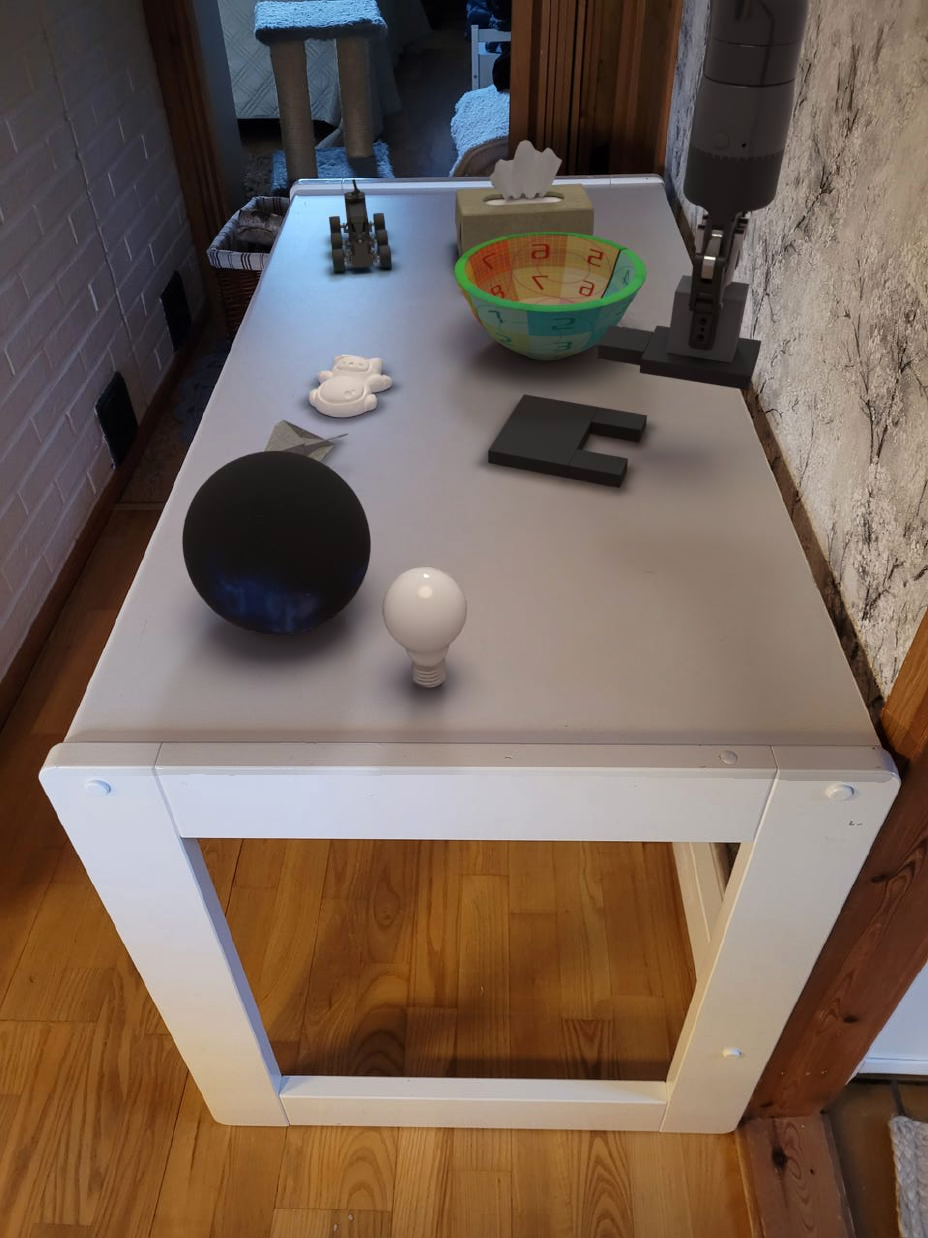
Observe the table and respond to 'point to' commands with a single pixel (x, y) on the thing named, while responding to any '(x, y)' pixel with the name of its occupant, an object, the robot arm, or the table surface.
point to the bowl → (549, 290)
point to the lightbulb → (425, 619)
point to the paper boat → (298, 441)
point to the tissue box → (522, 201)
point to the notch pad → (564, 439)
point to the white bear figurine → (349, 386)
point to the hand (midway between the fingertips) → (704, 336)
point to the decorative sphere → (276, 542)
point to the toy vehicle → (359, 235)
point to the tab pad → (676, 364)
